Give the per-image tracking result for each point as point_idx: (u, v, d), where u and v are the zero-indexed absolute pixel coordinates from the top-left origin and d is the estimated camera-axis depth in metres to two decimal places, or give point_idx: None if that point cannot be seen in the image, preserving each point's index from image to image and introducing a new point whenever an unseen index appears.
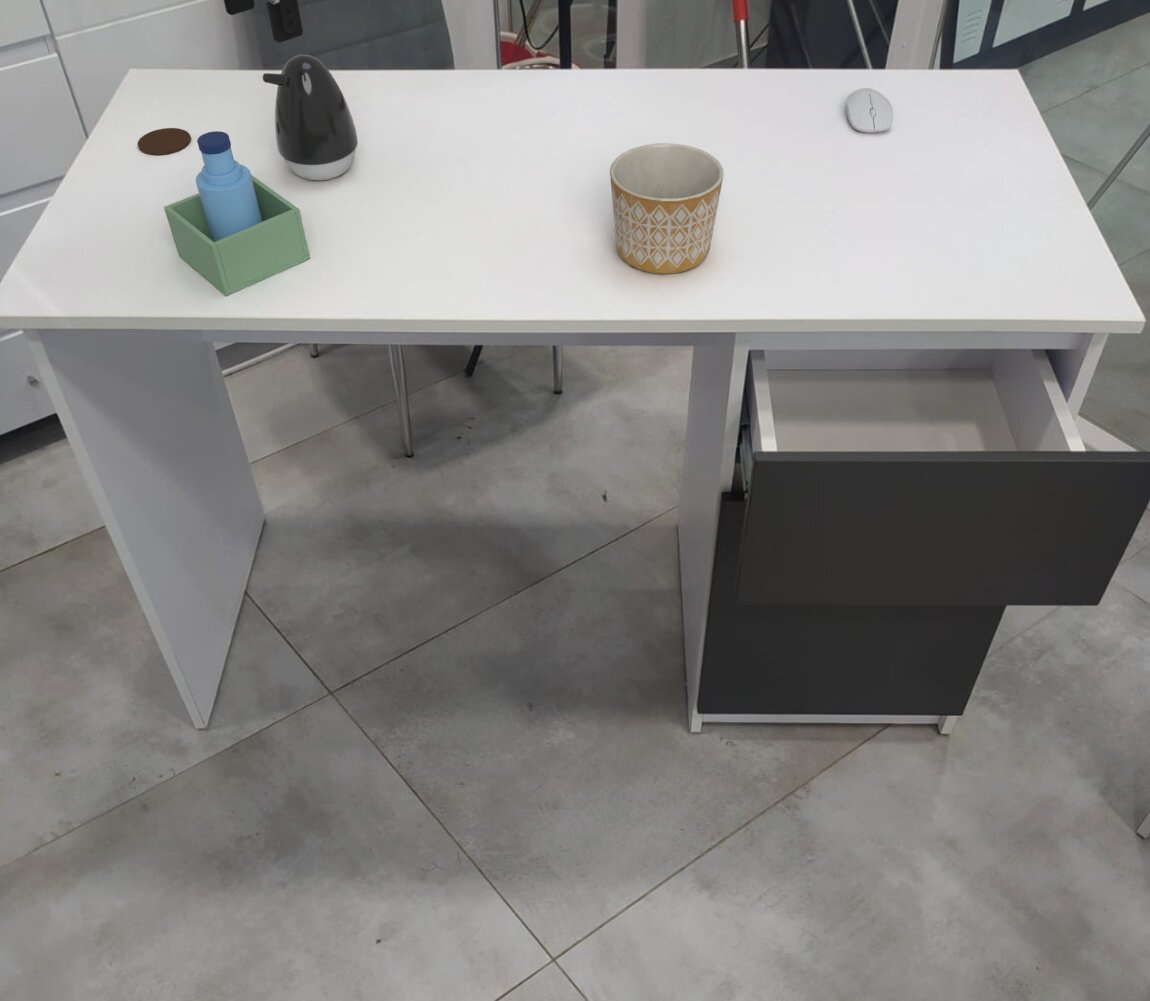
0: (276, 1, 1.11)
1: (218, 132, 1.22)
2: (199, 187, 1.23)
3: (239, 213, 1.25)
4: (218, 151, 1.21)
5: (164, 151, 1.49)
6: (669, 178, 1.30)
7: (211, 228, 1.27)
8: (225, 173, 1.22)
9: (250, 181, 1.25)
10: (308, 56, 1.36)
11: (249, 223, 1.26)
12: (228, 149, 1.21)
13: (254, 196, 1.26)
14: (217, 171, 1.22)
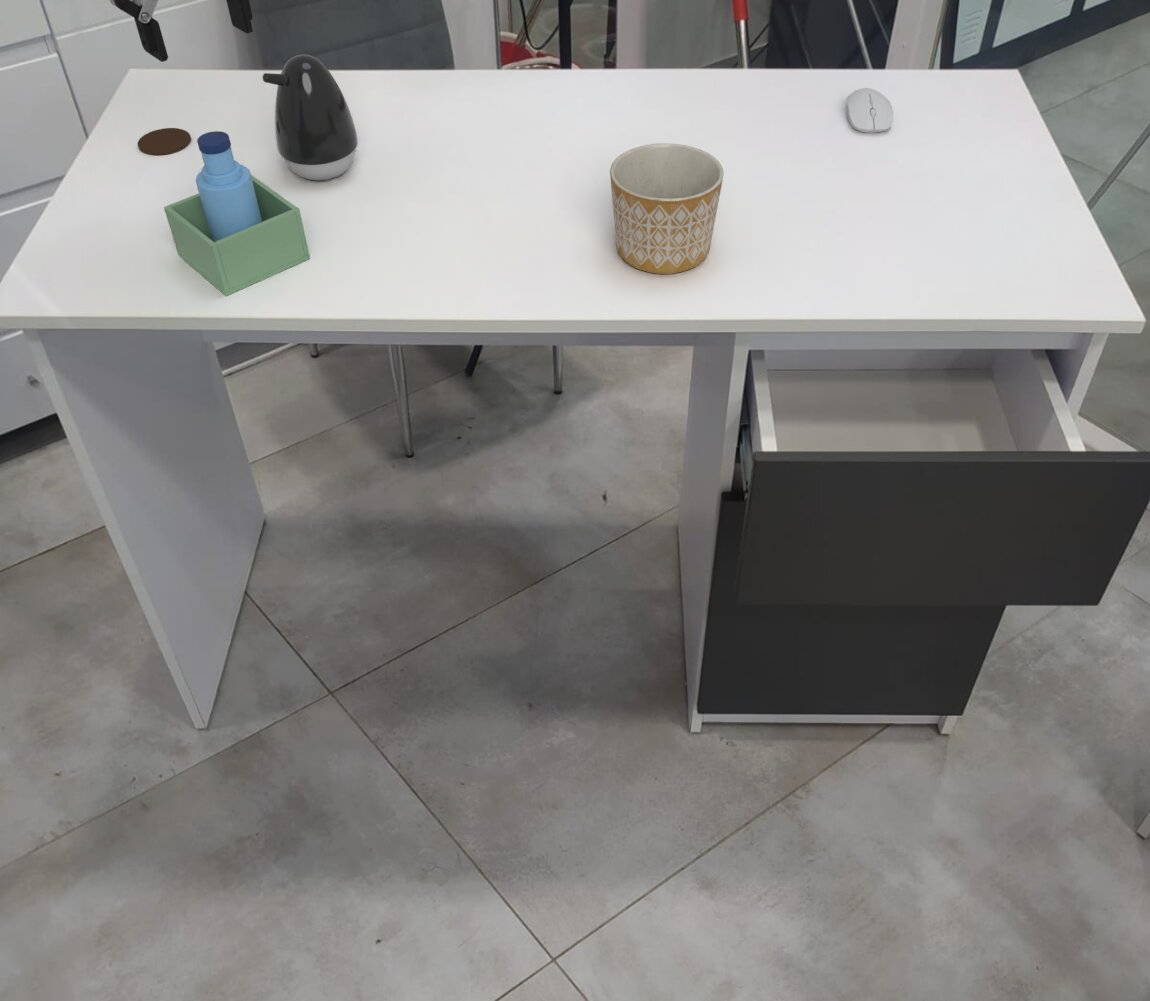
0: None
1: (218, 132, 1.22)
2: (199, 187, 1.23)
3: (239, 213, 1.25)
4: (218, 151, 1.21)
5: (164, 151, 1.49)
6: (669, 178, 1.30)
7: (211, 228, 1.27)
8: (225, 173, 1.22)
9: (250, 181, 1.25)
10: (308, 56, 1.36)
11: (249, 223, 1.26)
12: (228, 149, 1.21)
13: (254, 196, 1.26)
14: (217, 171, 1.22)
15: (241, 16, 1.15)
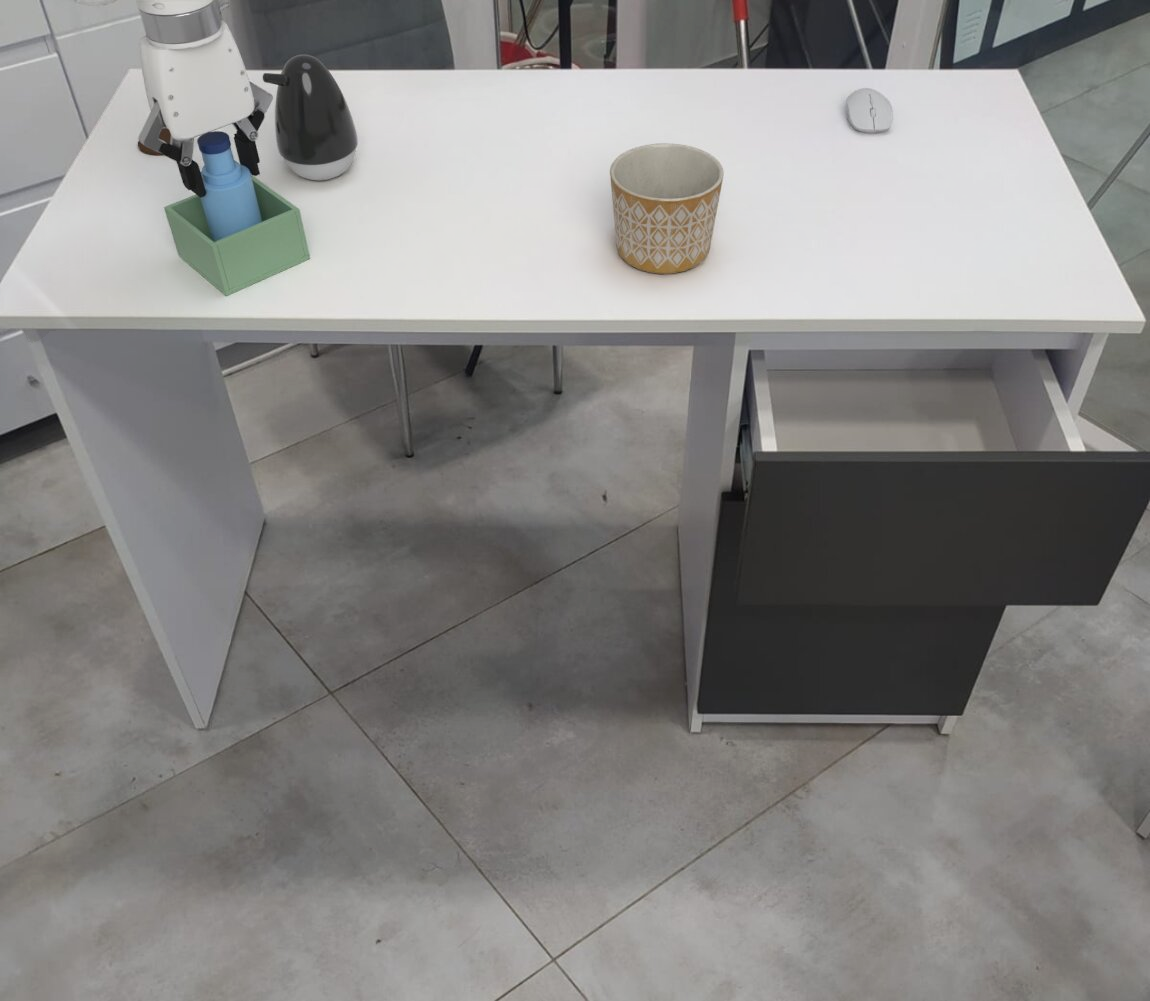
0: None
1: (218, 132, 1.22)
2: None
3: (239, 213, 1.25)
4: (218, 151, 1.21)
5: None
6: (669, 178, 1.30)
7: (211, 228, 1.27)
8: (225, 173, 1.22)
9: (250, 181, 1.25)
10: (308, 56, 1.36)
11: (249, 223, 1.26)
12: (228, 149, 1.21)
13: (254, 196, 1.26)
14: (218, 171, 1.22)
15: (249, 161, 1.24)
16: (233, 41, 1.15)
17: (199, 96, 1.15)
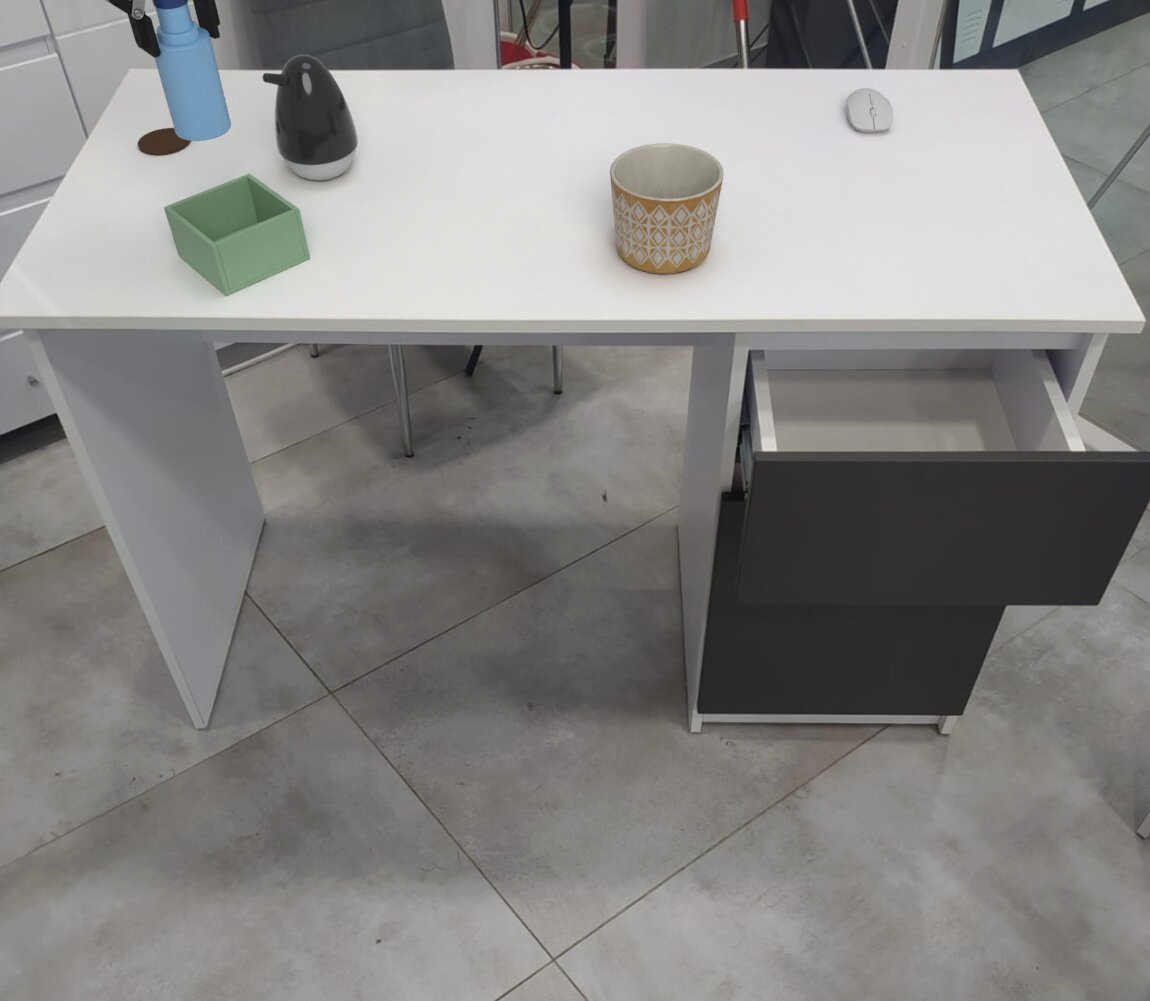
0: None
1: None
2: None
3: (197, 77, 1.16)
4: (173, 6, 1.12)
5: (164, 151, 1.49)
6: (669, 178, 1.30)
7: (167, 96, 1.18)
8: (181, 32, 1.13)
9: (209, 43, 1.15)
10: (308, 56, 1.36)
11: (209, 91, 1.17)
12: (184, 4, 1.12)
13: (214, 61, 1.17)
14: (173, 29, 1.13)
15: (208, 21, 1.15)
16: None
17: None
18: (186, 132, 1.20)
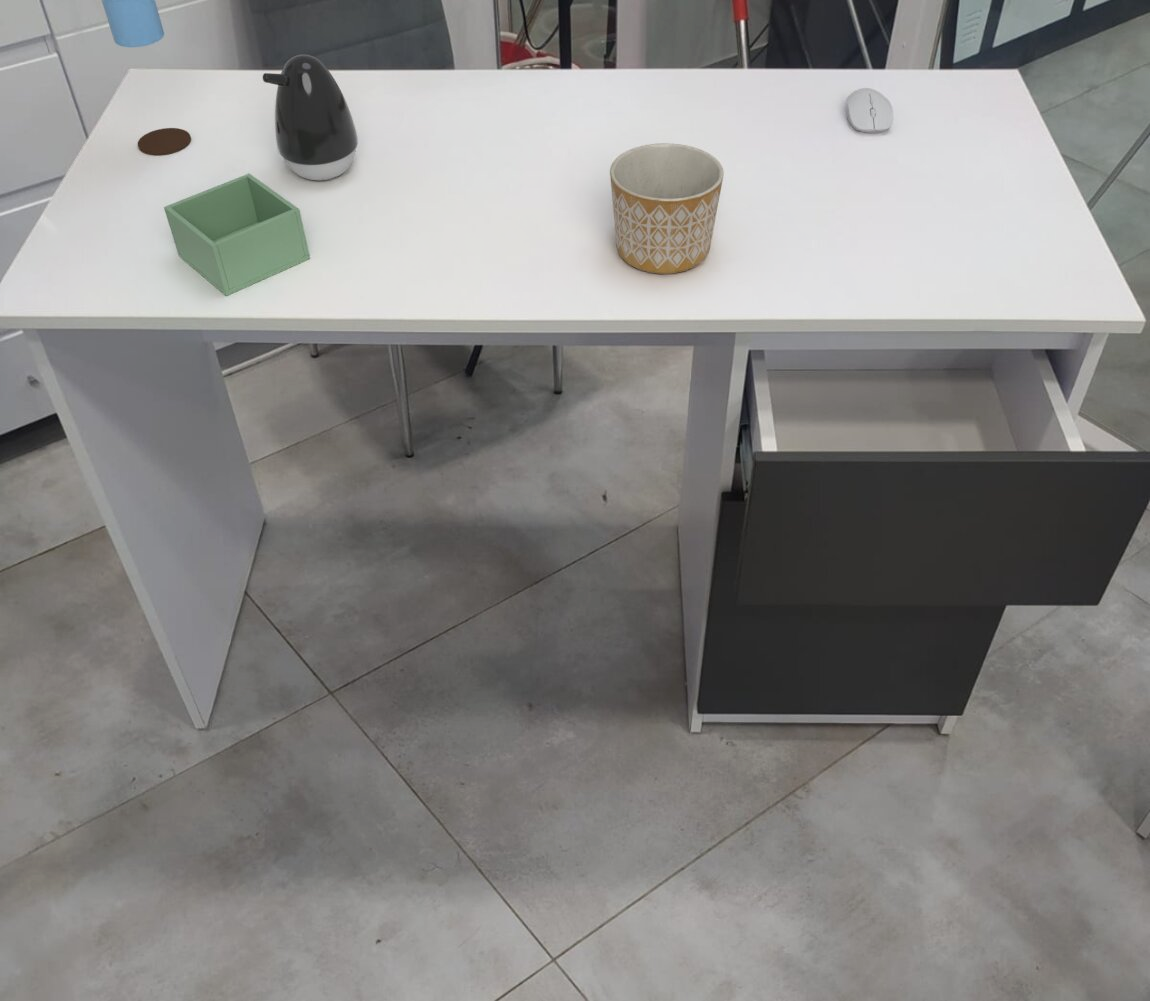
0: None
1: None
2: None
3: None
4: None
5: (164, 151, 1.49)
6: (669, 178, 1.30)
7: (105, 6, 1.33)
8: None
9: None
10: (308, 56, 1.36)
11: (141, 1, 1.33)
12: None
13: None
14: None
15: None
16: None
17: None
18: (122, 39, 1.35)
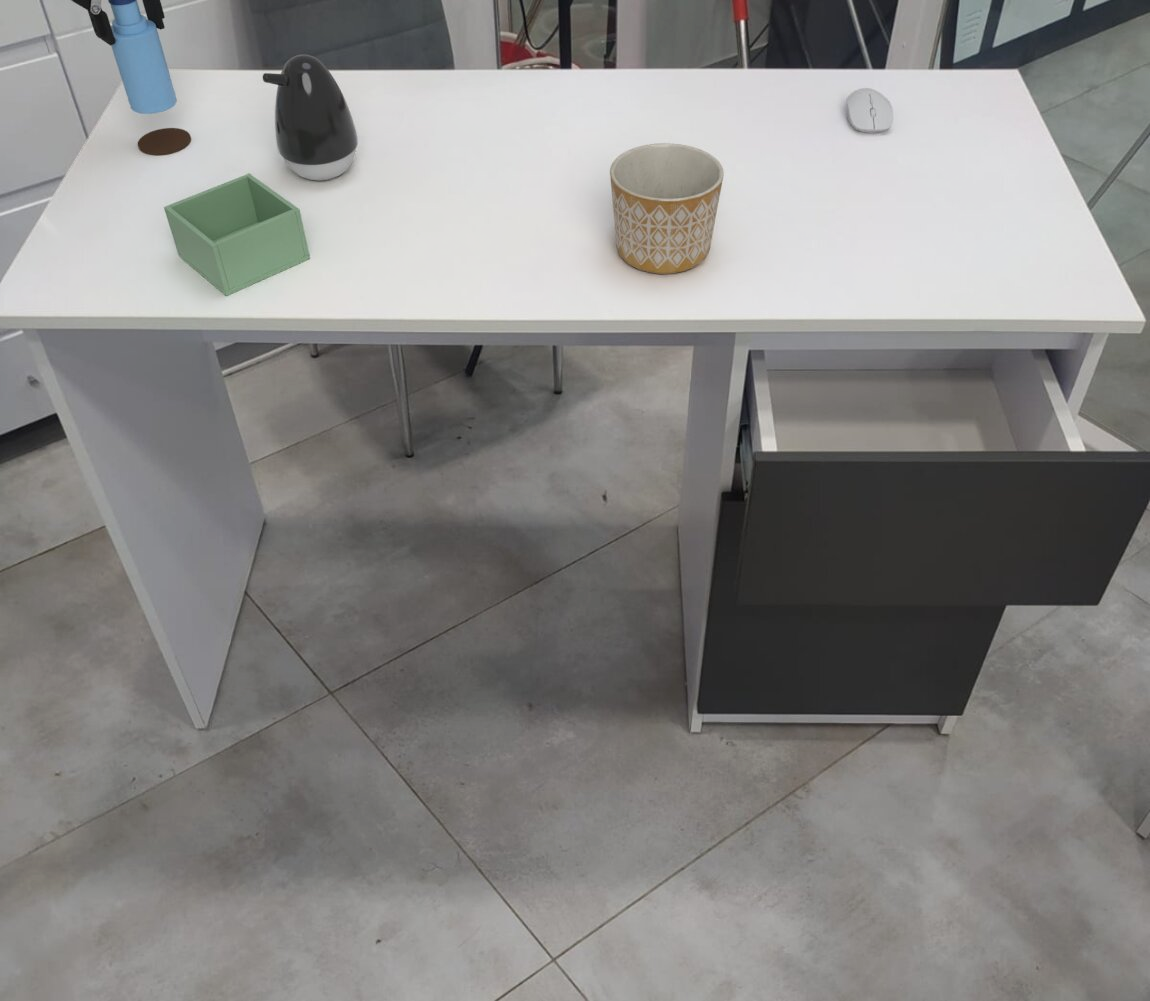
0: None
1: None
2: None
3: (146, 61, 1.41)
4: (124, 3, 1.37)
5: (164, 151, 1.49)
6: (669, 178, 1.30)
7: (122, 77, 1.43)
8: (132, 24, 1.39)
9: (155, 33, 1.41)
10: (308, 56, 1.36)
11: (156, 72, 1.43)
12: (134, 1, 1.38)
13: (160, 48, 1.43)
14: (125, 22, 1.39)
15: (154, 15, 1.41)
16: None
17: None
18: (139, 107, 1.45)
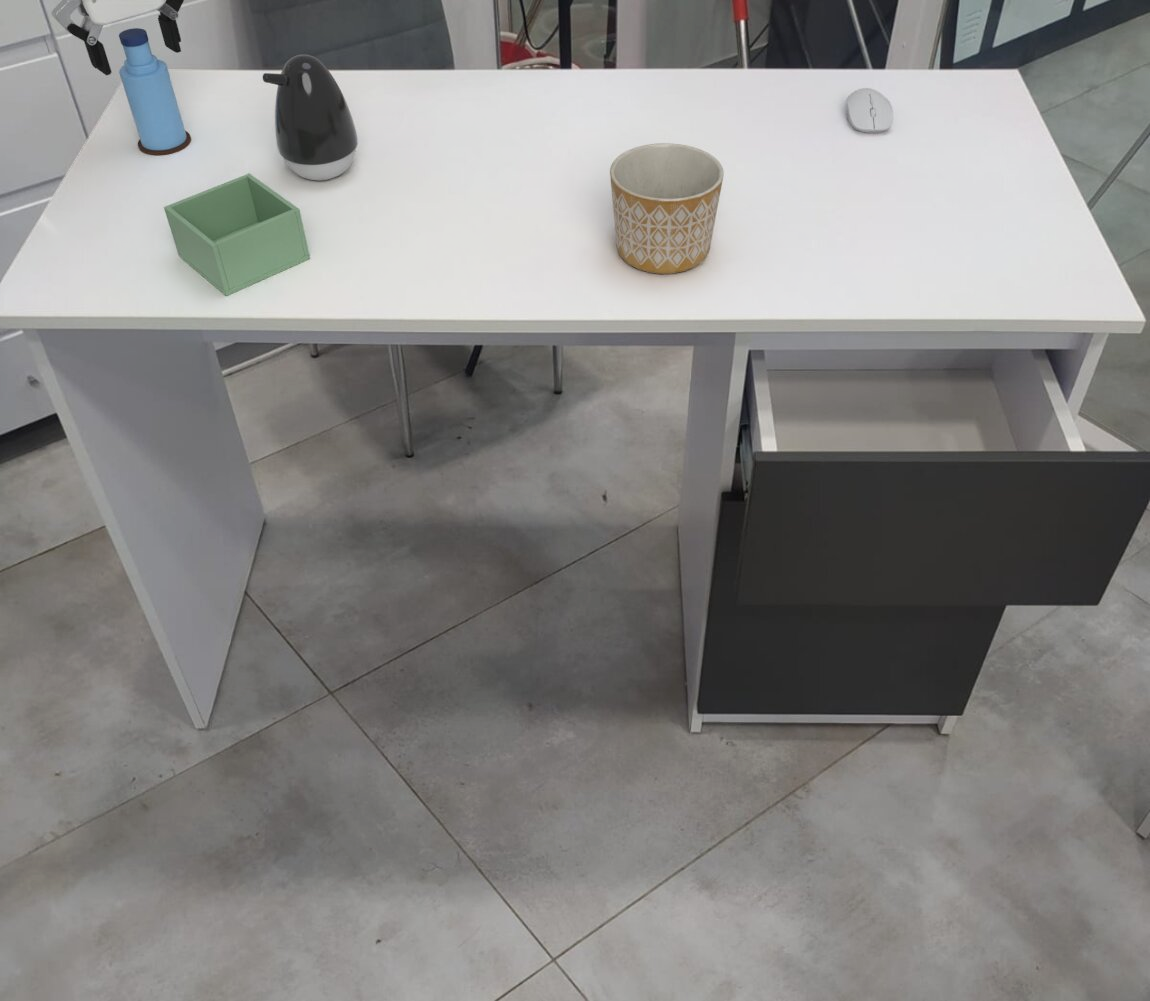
0: None
1: (137, 29, 1.42)
2: (122, 77, 1.43)
3: (157, 100, 1.45)
4: (136, 44, 1.41)
5: (164, 151, 1.49)
6: (669, 178, 1.30)
7: (134, 115, 1.47)
8: (144, 64, 1.43)
9: (166, 73, 1.45)
10: (308, 56, 1.36)
11: (167, 110, 1.47)
12: (145, 42, 1.42)
13: (170, 87, 1.46)
14: (137, 62, 1.42)
15: (171, 39, 1.44)
16: None
17: None
18: (149, 143, 1.49)
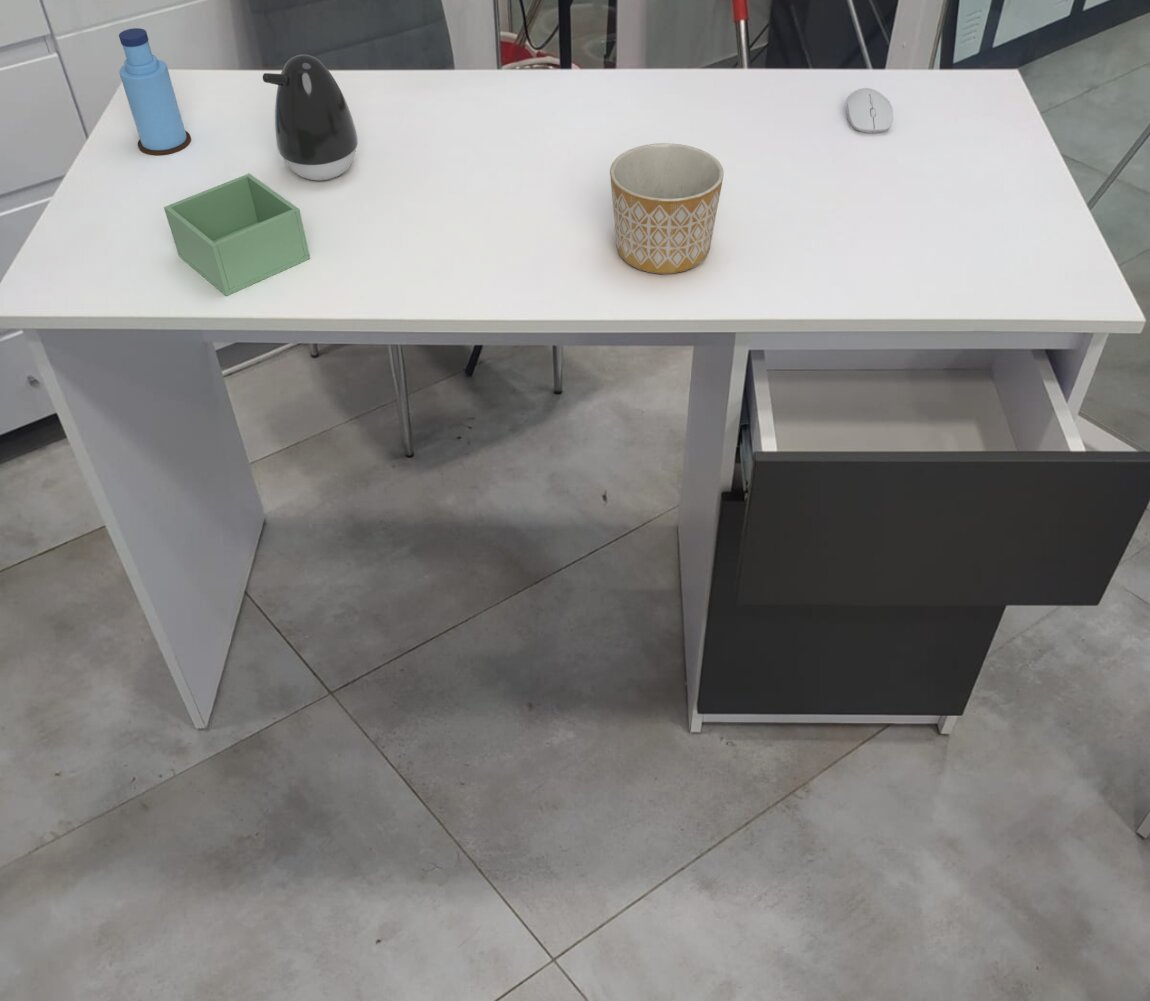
0: None
1: (137, 29, 1.42)
2: (122, 77, 1.43)
3: (157, 100, 1.45)
4: (136, 44, 1.41)
5: (164, 151, 1.49)
6: (669, 178, 1.30)
7: (134, 115, 1.47)
8: (144, 64, 1.43)
9: (166, 73, 1.45)
10: (308, 56, 1.36)
11: (167, 110, 1.47)
12: (145, 42, 1.42)
13: (170, 87, 1.46)
14: (137, 62, 1.42)
15: None
16: None
17: None
18: (149, 143, 1.49)
